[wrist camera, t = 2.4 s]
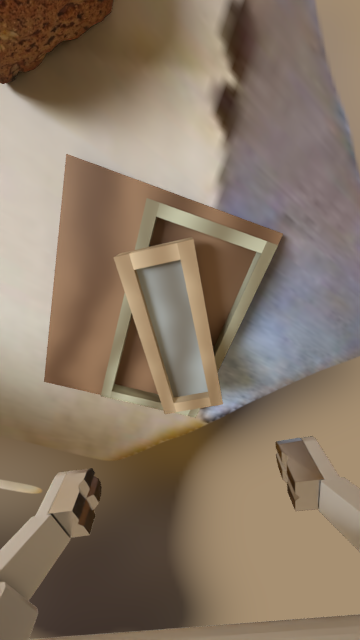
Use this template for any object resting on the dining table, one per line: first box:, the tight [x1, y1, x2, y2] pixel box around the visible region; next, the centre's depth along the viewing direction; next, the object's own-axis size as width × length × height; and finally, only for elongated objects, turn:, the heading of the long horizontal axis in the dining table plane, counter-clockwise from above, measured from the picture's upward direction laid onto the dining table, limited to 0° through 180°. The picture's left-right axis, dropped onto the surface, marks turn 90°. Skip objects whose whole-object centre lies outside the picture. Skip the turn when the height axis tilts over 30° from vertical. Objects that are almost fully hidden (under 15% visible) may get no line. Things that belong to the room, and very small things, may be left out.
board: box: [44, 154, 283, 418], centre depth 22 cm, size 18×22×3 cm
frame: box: [114, 237, 223, 414], centre depth 21 cm, size 6×16×2 cm, turn 12°
